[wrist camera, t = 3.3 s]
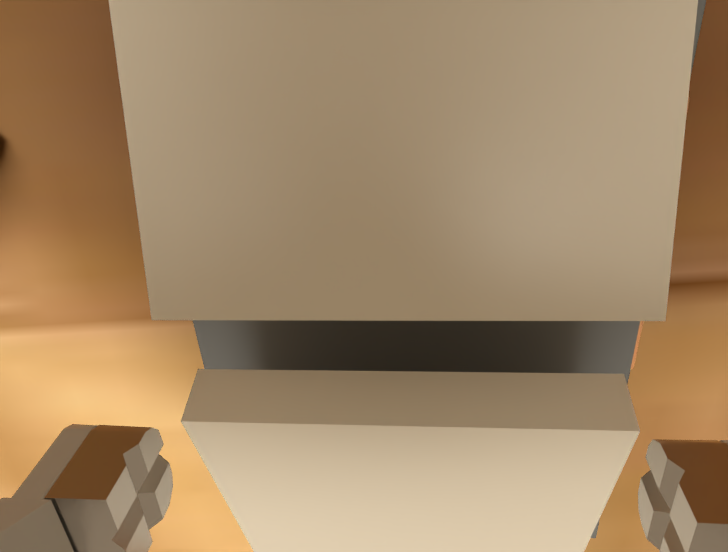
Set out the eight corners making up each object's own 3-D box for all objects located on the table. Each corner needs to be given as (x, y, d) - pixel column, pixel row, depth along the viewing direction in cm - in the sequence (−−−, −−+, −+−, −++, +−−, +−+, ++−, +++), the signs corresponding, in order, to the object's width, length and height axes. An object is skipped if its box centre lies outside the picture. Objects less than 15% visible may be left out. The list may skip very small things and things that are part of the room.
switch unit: (152, -186, 17) (6, -244, 11) (693, -238, 15) (856, -338, 9) (270, 434, 29) (230, 563, 23) (580, 442, 27) (622, 582, 22)
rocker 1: (124, -163, 12) (81, -203, 11) (684, -215, 11) (725, -267, 10) (179, 298, 15) (151, 320, 13) (639, 297, 14) (665, 320, 12)
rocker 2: (198, 368, 16) (180, 421, 15) (624, 374, 15) (640, 431, 14) (270, 522, 23) (262, 566, 22) (563, 534, 22) (570, 581, 21)
